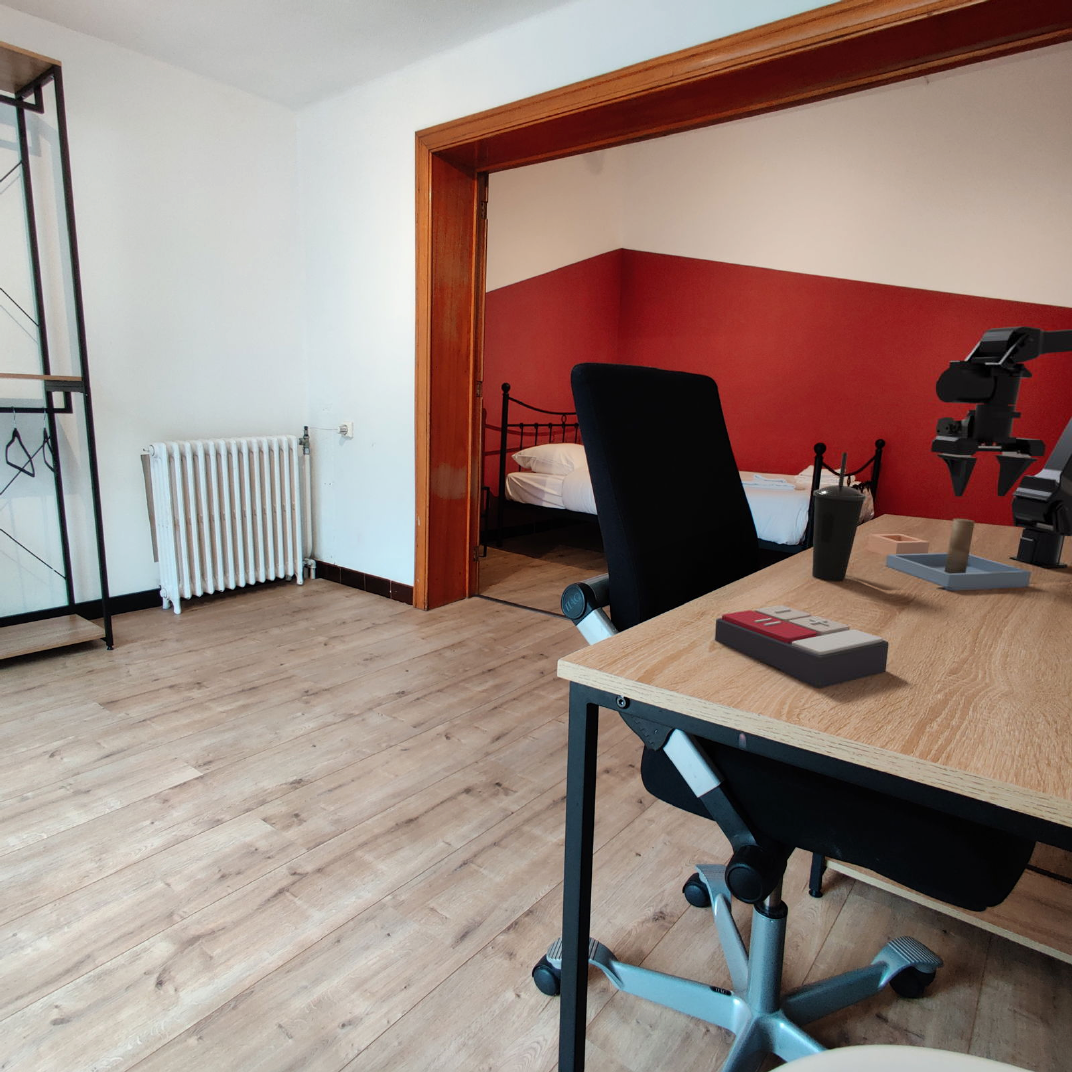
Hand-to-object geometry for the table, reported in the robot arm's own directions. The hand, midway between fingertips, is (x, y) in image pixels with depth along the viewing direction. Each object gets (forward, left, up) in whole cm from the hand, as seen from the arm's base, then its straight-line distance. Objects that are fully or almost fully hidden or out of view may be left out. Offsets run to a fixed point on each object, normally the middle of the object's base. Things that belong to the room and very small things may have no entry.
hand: (979, 496), depth 121 cm
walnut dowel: (+9, +6, -12) cm, 16 cm away
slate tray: (+9, +6, -12) cm, 17 cm away
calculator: (+57, +32, -13) cm, 67 cm away
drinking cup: (+31, +3, -13) cm, 34 cm away
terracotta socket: (+8, -8, -12) cm, 17 cm away
